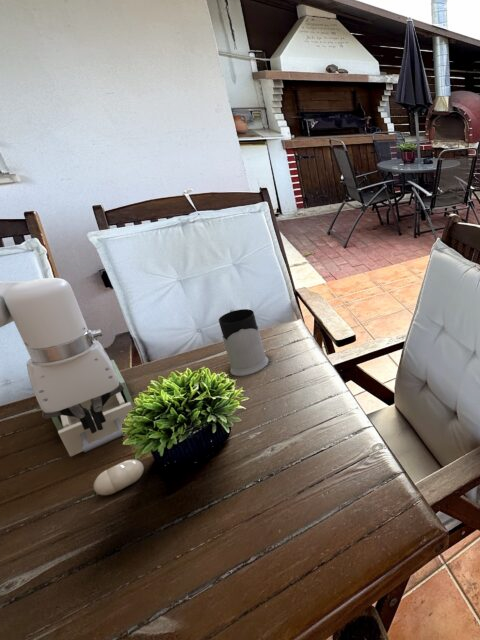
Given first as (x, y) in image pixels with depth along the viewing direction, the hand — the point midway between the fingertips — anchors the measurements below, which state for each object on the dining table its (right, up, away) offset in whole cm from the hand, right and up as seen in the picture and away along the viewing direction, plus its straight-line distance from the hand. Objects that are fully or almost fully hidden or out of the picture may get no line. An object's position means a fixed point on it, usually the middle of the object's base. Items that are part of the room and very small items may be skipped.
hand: (96, 427), depth 77 cm
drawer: (-5, -4, +6) cm, 9 cm away
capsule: (+10, -9, -5) cm, 14 cm away
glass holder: (+8, +5, +31) cm, 33 cm away
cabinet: (-14, -2, +14) cm, 20 cm away
